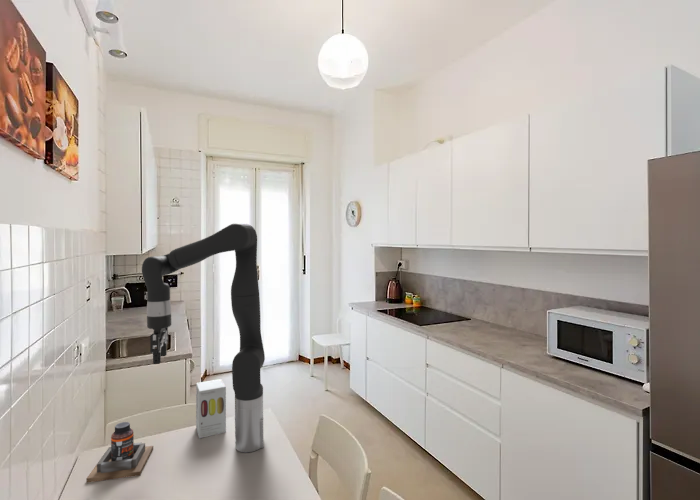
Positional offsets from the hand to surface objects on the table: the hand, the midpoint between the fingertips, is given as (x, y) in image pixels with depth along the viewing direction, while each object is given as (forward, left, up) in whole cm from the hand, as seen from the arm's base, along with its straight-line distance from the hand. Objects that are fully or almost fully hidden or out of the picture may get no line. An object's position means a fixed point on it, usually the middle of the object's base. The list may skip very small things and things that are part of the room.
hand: (160, 359), depth 129 cm
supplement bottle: (+8, +14, -27) cm, 31 cm away
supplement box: (-16, -2, -28) cm, 32 cm away
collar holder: (+8, +14, -28) cm, 32 cm away
